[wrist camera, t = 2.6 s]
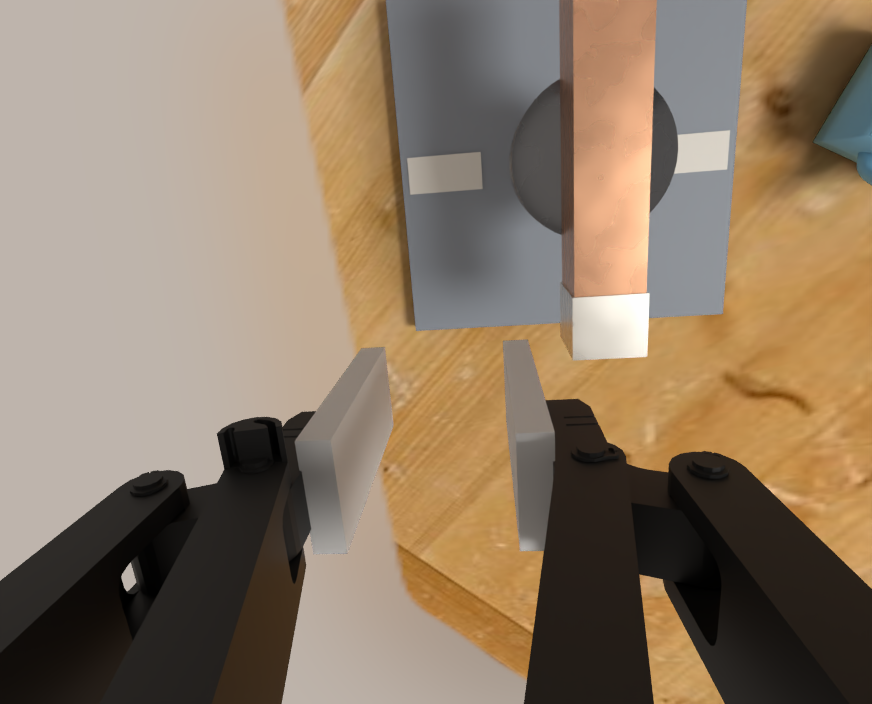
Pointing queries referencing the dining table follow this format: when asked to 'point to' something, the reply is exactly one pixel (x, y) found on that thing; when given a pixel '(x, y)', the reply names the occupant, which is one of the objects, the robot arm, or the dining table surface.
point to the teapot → (852, 121)
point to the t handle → (599, 171)
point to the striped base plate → (491, 141)
